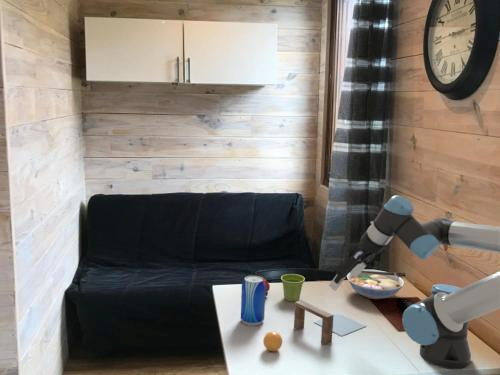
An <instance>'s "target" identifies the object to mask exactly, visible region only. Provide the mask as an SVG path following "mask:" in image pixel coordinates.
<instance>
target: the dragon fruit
mask: <svg viewBox="0 0 500 375" xmlns="http://www.w3.org/2000/svg"><path fill="white" fill-rule="evenodd" d="M261 277H262V276H261ZM262 278H263V281H264V283H265V285H266V288H265V297H268V294H269V292H268V291H270V287H271V286H270V283H269V281H268V280H266V279H265V277H262Z"/></svg>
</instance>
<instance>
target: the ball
mask: <svg viewBox="0 0 500 375" xmlns="http://www.w3.org/2000/svg"><path fill="white" fill-rule="evenodd" d="M263 346H264V347H265V349H266V350H268V351H269V352H276V351H279V350H280V349H281V347H282V346H283V337H282V336H281V335H280V334H279V332H277V331H270V332H267V333H265V335H264V337H263Z"/></svg>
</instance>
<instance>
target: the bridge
mask: <svg viewBox="0 0 500 375" xmlns="http://www.w3.org/2000/svg"><path fill="white" fill-rule="evenodd" d="M306 312H308V313H310V314H311V315H314V316H317V317H319V318H321V319H322V326H321V338H320V343H321V344H323V345H324V346H327V345H329V344H331V343H333V332H332V331H333V316H334V315H335V314H332V313H330V312H328V311H326V310H324V309H321V308H319V307H318V306H315V305H313V304H311V303H309V302H306V301H305V300H303V299H299V300H298V301H297V300H296V301H294V318H293V321H294V322H293V329H294V330H297V331H299V330H302V329H305V315H306Z"/></svg>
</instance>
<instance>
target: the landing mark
mask: <svg viewBox="0 0 500 375" xmlns="http://www.w3.org/2000/svg"><path fill="white" fill-rule="evenodd" d="M333 315H334V316H333V331H332V333H333V334H335V335H338V336H340V337H343V336H346V335H349V334H351V333H354V332H356V331H359V330H361V329H363V328H366V327H367V325H365V324H362V323H361V322H358V321H356V320H353V319H352V318H349V317H347V316H345V315H343V314H341V313H339V312H338V313H336V314H333ZM313 323H314V324H316V325H318V326H320V327H322V318H321V319H319V320H316V321H313Z"/></svg>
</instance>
